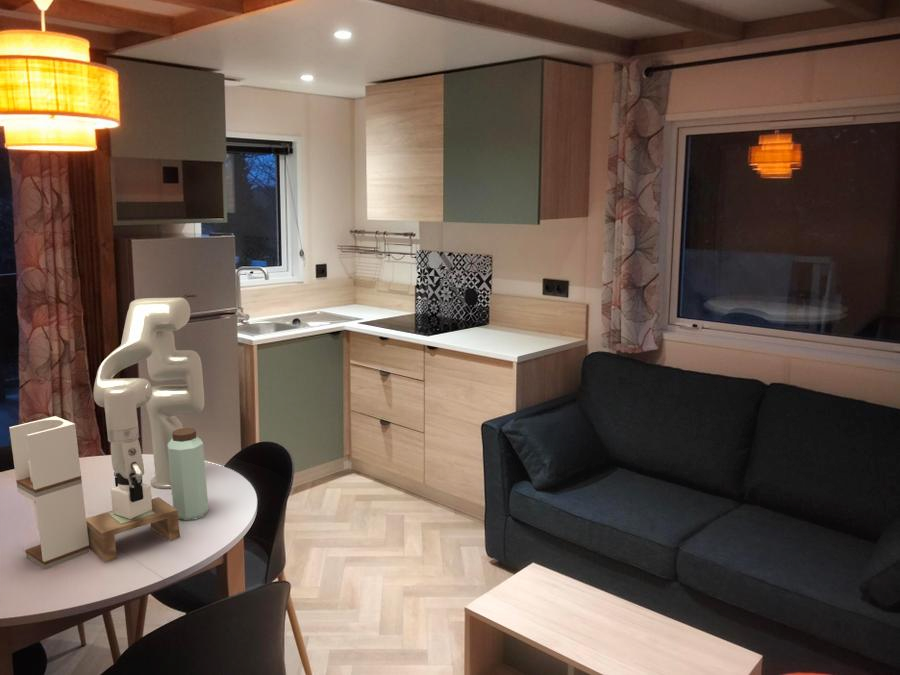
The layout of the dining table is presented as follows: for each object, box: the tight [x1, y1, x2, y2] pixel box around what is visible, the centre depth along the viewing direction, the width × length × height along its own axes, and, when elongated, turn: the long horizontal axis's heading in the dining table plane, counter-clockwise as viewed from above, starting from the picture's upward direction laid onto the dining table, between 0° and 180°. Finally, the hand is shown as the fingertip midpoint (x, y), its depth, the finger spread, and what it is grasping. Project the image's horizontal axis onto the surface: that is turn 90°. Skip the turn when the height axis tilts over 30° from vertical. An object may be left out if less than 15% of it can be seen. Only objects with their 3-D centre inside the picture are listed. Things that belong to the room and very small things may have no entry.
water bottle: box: [167, 427, 209, 521], centre depth 227 cm, size 10×10×25 cm
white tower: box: [8, 415, 91, 570], centre depth 203 cm, size 11×11×35 cm
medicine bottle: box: [110, 473, 152, 519], centre depth 210 cm, size 7×7×12 cm
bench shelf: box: [86, 496, 181, 563], centre depth 212 cm, size 20×12×8 cm, turn 133°
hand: (129, 495), depth 210 cm, fingers open, 9 cm apart
